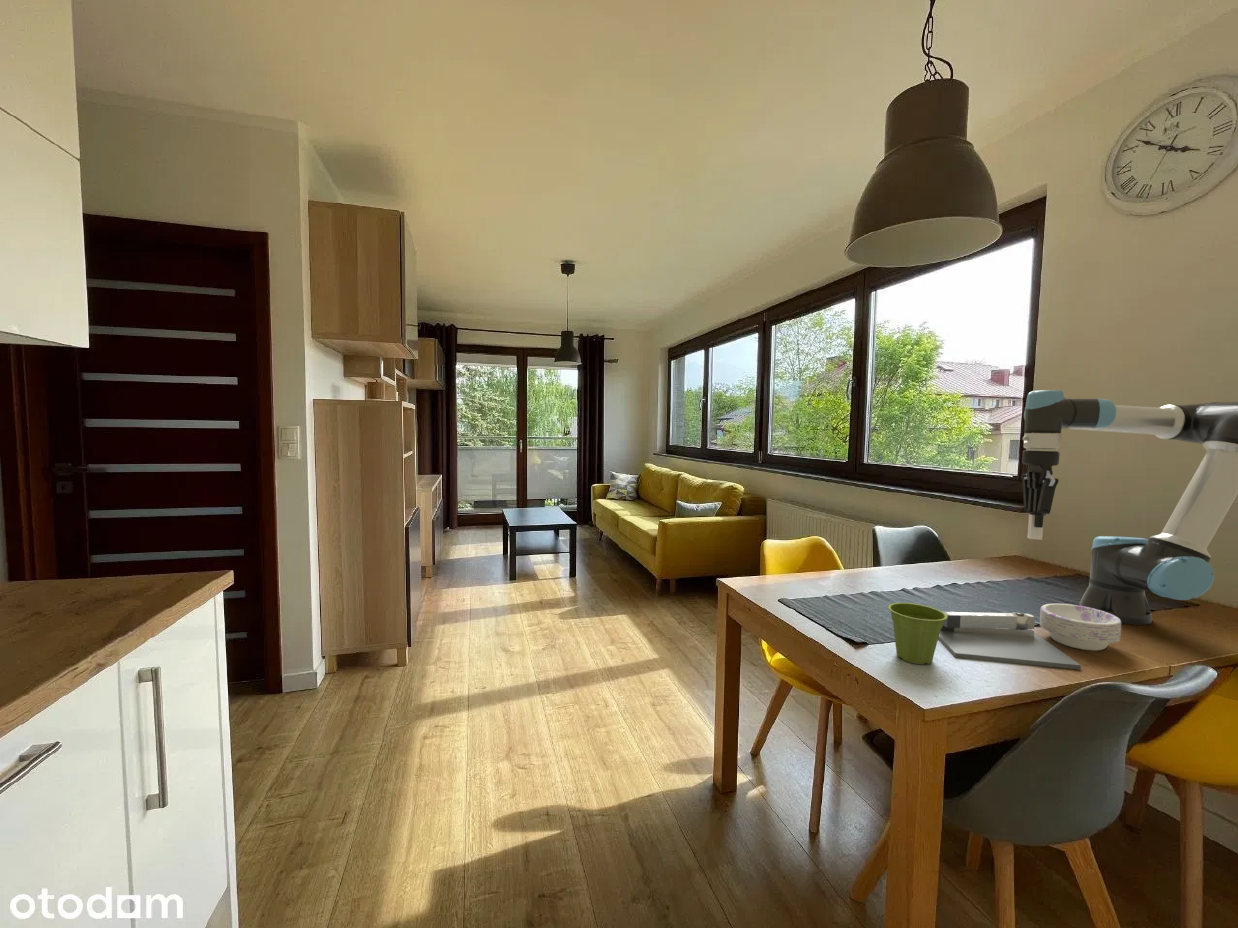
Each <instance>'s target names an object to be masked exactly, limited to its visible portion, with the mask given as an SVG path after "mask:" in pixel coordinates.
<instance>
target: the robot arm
mask: <svg viewBox="0 0 1238 928" xmlns="http://www.w3.org/2000/svg"><path fill="white" fill-rule="evenodd" d="M1025 401H1026V402H1025V407H1024V411H1023V419H1024V434H1023V435H1024V436H1023V437H1022V441H1023V448H1024V449H1025V450H1023V451H1022V458H1021V459H1022V460H1021V463H1022V464H1023V465H1027V469H1026V473H1021V475H1020V478H1021V482H1022V492H1023V493H1022V494H1023V495H1022V497H1023V509H1024V511H1027V513H1028V521H1027V522H1028V525H1027V535H1026V537H1027V539H1029V540H1039V541H1040V540H1041V541H1043V532H1044V520H1045V518H1044V517H1045V516H1046V515H1050V514H1051V510H1052V505H1053V501H1054V498H1055V497H1054V496H1055V491H1056V488H1057V485H1058V483H1059V482H1060V481H1059V478H1056V477H1055V478H1054V477H1053V467H1055V466H1058V465H1059V463H1060V455H1061V454H1060V452H1059V449H1060V448H1061V439H1062V429H1063V430H1065V429H1066V430H1077V431H1079V430H1083V431H1092V432H1093V431H1096V432H1108V433H1109V432H1110V433H1126V434H1127V433H1128V434H1136V435H1137V434H1139V435H1140V434H1143V435H1154V436H1155V437H1157V438H1158V439H1161V440H1172V441H1178V442H1179V441H1181V442H1185V443H1186V442H1187V443H1192V444H1197V445H1202V447H1203V448H1204V450H1205V451H1206V452H1205V455H1204V457H1203V458H1202V459H1201V462H1200V463H1199V466H1198V467H1197V468H1196V471H1195V473H1194V474H1193V476H1192V478H1191V480H1190V481H1189V483H1188V484H1187V487H1186V488H1185V490H1184V492H1183V494H1182V495H1181V498H1180V499H1179V501H1178V502H1177V504H1176V505H1175V508H1174V510H1173V511H1172V513H1171V515H1170V517H1169V518H1168V521H1167V522H1166V524H1165V526H1164V527H1163V529H1162V531H1161V532H1160V533H1159V534H1156V535H1151V536H1149V538H1143V537H1133V536H1132V537H1130V536H1112V535H1108V536H1106V535H1099V536H1096V537H1094V539H1093V541H1092V546H1091V547H1090V551H1091V553H1090V554H1091V555H1090V568H1089V569H1090V571H1089V583H1088V586H1087V588H1086V590H1085V592H1084V594H1083V595H1082V597H1081V599H1080V601H1079V606H1084V607H1089V608H1093V609H1097V610H1101V611H1104V612H1107V613H1110V614H1112V615H1114V616H1116V617H1118V618H1119V619H1120V620H1121V624H1125V625H1126V624H1127V625H1138V626H1143V625H1150V624H1152V617H1153V616H1152V615H1153V614H1152V611H1151V608H1150V606H1149V603H1148V599H1147V597H1146V592H1150V593H1153V594H1154V595H1155V594H1156V595H1157V596H1159V597H1163V598H1168V599H1172V600H1177V601H1187V600H1191V599H1197V598H1198V597H1201V596H1202V595H1204V594H1206V592H1208V591H1209V590H1210V589H1211V588H1212V586H1213V583H1214V580H1215V574H1213V573H1214V572H1215V571H1214V568H1213V566H1211V564H1210V563H1209V562H1210V560H1211V558H1212V556H1211V554H1210V553H1209V551H1208V547H1209V545H1210V543H1211V542H1212V540H1213V538H1214V536H1215V535H1216V533H1217V531H1218V530H1219V527H1220V526H1221V524H1222V522H1223V521H1224V519H1225V517H1226V515H1227V513H1228V512H1229V510H1230V508H1231V506H1232V505H1233V503H1234V501H1236V500H1235V499H1236V498H1237V496H1238V400H1237V401H1213V402H1204V403H1203V402H1202V403H1191V404H1166V405H1163V406H1160V407H1157V406H1156V407H1153V406H1136V405H1120V404H1119V405H1118V404H1117V405H1116V404H1115V403H1114V402H1113V401H1112V400H1110V399H1108V398H1106V399H1105V398H1098V397H1096V398H1066V397H1065V393H1064V391H1063V390H1061V389H1060V390H1059V389H1058V390H1057V389H1046V390H1045V389H1044V390H1041V389H1040V390H1032V391H1030V392H1028V393H1027V395H1026V400H1025Z"/></svg>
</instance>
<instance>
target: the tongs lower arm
mask: <svg viewBox="0 0 1238 928" xmlns="http://www.w3.org/2000/svg"><path fill="white" fill-rule="evenodd" d="M940 631H952V632H954V631H960V632H974V633H989V634H1004V635H1018V636H1033V637H1034V633H1035V630H1034V629H1027V630H1020V629H1008V628H962V627H960V628H947V627H945V626H942V629H941V630H940Z"/></svg>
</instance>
